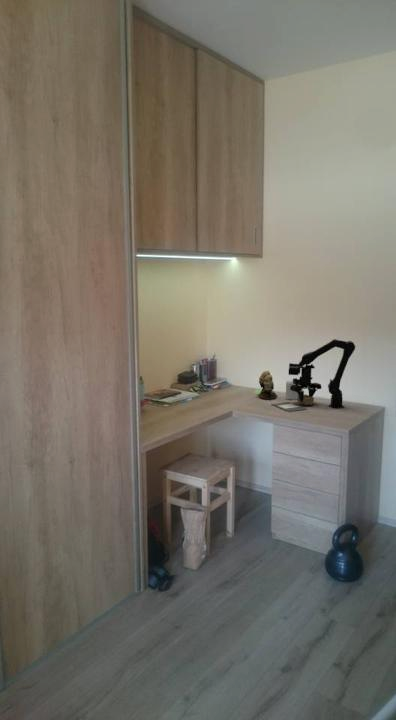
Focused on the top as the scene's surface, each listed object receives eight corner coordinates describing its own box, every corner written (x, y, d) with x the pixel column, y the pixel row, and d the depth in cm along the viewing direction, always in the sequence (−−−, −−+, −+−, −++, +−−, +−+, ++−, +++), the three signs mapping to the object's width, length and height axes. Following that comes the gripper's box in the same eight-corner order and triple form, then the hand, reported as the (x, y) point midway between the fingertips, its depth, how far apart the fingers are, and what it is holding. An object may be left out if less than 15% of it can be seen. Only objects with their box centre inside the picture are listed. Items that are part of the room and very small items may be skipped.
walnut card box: (313, 404, 307) (313, 397, 307) (305, 405, 305) (306, 398, 304) (305, 401, 314) (305, 394, 314) (297, 402, 312) (298, 395, 311)
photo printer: (300, 397, 328) (301, 378, 326) (302, 399, 324) (303, 379, 322) (284, 398, 327) (285, 379, 325) (286, 400, 323) (287, 380, 321)
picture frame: (306, 409, 300) (306, 408, 299) (288, 412, 295) (288, 410, 294) (288, 402, 316) (288, 401, 316) (271, 404, 311) (271, 403, 311)
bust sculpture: (279, 400, 322) (279, 373, 319) (260, 400, 322) (260, 373, 319) (275, 393, 339) (275, 368, 336) (257, 394, 339) (257, 368, 337)
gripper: (310, 371, 318) (310, 396, 321) (285, 374, 311) (284, 400, 313) (322, 375, 308) (321, 400, 311) (296, 377, 301) (295, 404, 303)
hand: (305, 401), depth 310 cm, fingers closed on walnut card box, 5 cm apart
